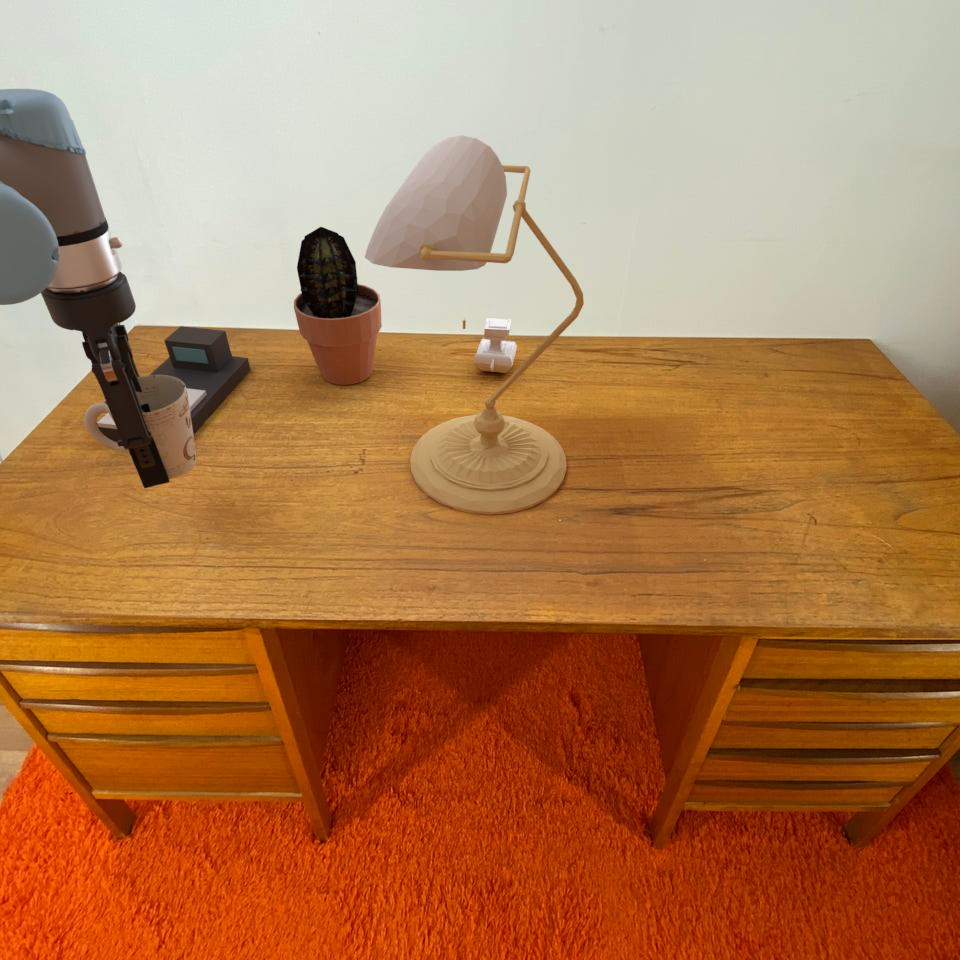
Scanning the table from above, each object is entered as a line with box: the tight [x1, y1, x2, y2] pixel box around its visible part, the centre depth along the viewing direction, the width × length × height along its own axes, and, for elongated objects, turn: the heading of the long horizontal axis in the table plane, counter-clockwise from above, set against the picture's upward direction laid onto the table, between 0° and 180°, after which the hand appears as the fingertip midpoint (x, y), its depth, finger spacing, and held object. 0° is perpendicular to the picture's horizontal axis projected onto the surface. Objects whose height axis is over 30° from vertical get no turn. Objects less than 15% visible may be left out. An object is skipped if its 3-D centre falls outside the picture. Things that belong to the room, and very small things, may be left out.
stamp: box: [473, 317, 518, 374], centre depth 109 cm, size 9×7×8 cm
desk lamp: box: [364, 135, 585, 516], centre depth 79 cm, size 31×23×40 cm
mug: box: [83, 374, 198, 480], centre depth 74 cm, size 8×13×10 cm, turn 91°
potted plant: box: [293, 226, 383, 386], centre depth 102 cm, size 14×14×25 cm
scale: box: [96, 325, 252, 443], centre depth 100 cm, size 23×13×7 cm, turn 170°
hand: (154, 465), depth 76 cm, fingers closed on mug, 6 cm apart
